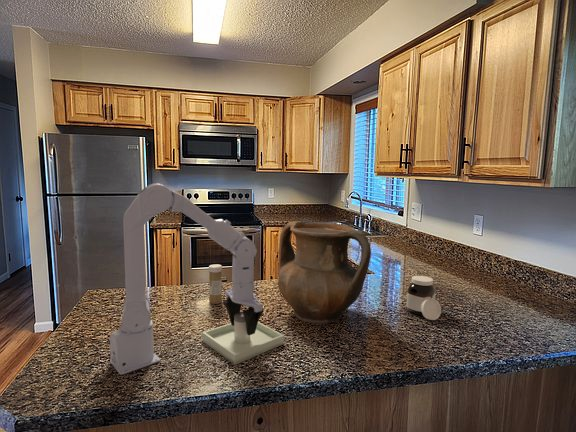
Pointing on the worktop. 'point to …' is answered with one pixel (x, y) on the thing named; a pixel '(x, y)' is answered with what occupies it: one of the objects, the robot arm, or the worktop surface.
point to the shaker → (240, 329)
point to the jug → (320, 270)
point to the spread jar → (423, 298)
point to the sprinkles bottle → (215, 283)
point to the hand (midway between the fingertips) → (242, 329)
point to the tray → (236, 353)
